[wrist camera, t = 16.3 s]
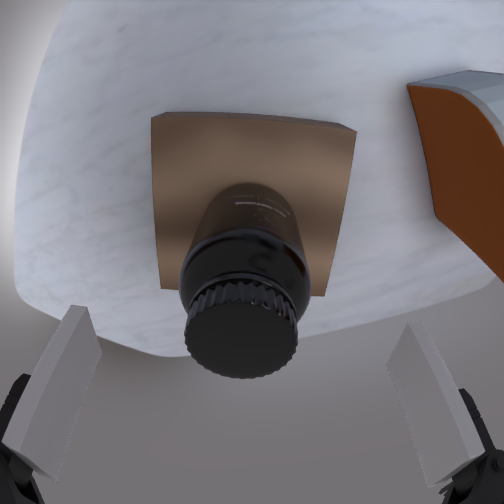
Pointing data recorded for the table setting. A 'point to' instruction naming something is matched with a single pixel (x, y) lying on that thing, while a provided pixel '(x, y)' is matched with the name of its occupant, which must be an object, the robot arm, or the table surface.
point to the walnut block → (248, 178)
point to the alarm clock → (466, 156)
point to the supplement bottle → (245, 283)
